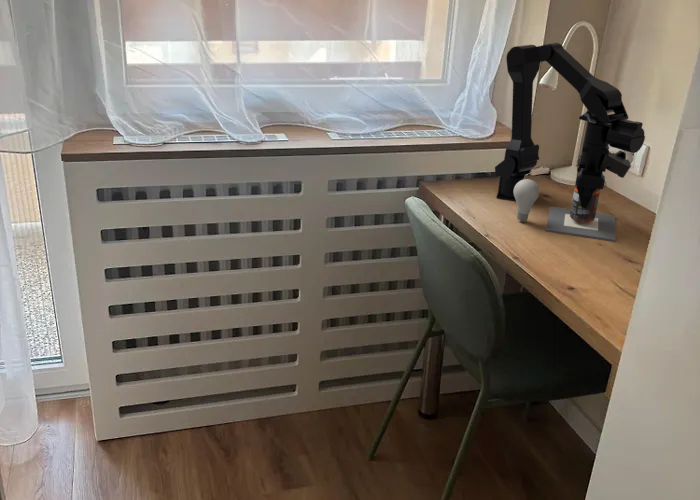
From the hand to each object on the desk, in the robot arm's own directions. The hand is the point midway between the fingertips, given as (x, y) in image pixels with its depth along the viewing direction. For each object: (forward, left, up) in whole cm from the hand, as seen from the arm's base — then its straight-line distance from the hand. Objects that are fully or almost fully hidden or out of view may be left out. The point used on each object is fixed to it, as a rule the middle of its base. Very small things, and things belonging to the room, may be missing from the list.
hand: (584, 203), depth 169 cm
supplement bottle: (0, 0, -4) cm, 4 cm away
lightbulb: (-14, -4, -6) cm, 16 cm away
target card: (0, 0, -5) cm, 5 cm away
